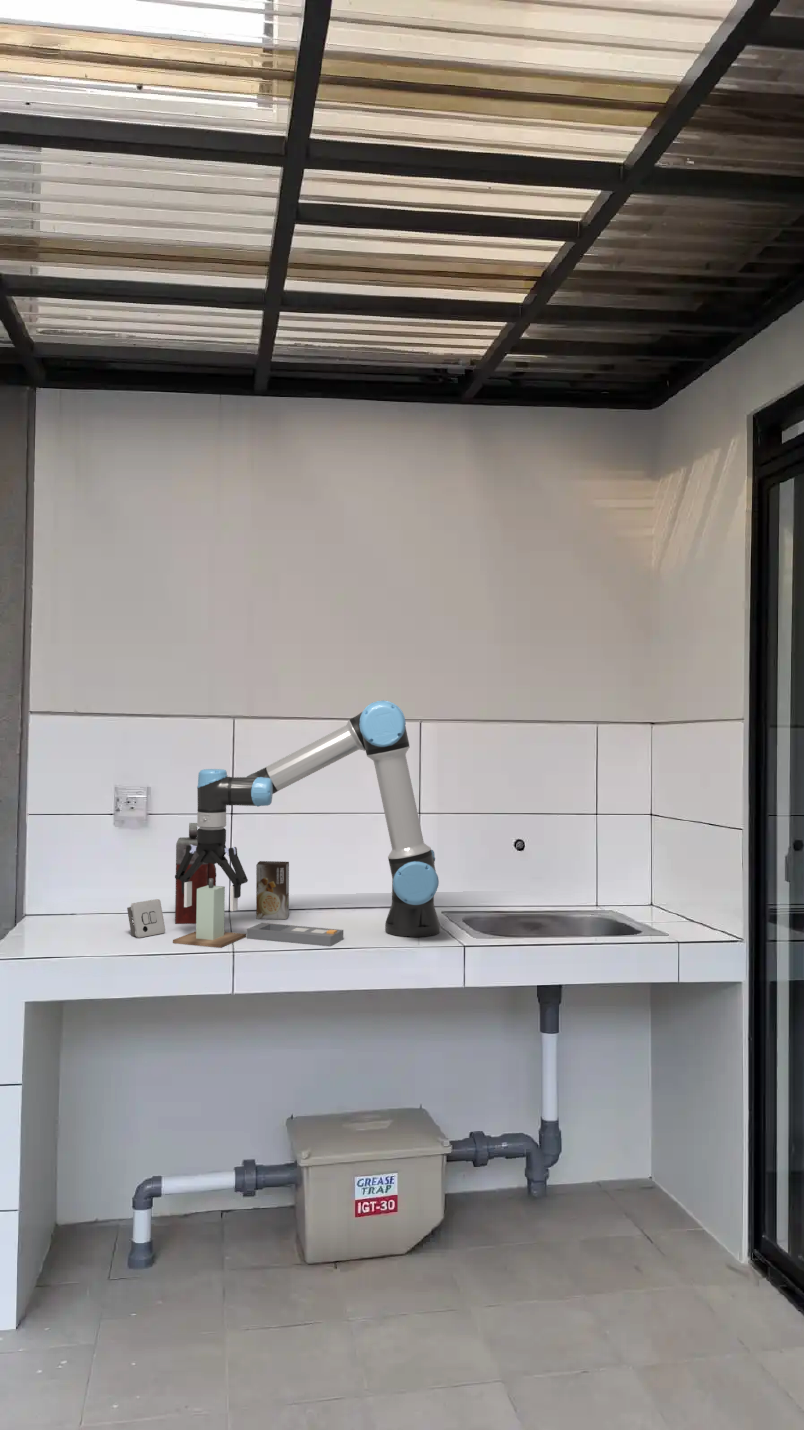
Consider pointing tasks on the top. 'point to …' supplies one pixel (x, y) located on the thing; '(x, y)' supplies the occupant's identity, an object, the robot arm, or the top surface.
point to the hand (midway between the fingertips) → (210, 908)
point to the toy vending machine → (198, 879)
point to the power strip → (295, 934)
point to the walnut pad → (218, 942)
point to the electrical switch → (146, 918)
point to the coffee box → (272, 890)
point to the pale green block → (210, 911)
